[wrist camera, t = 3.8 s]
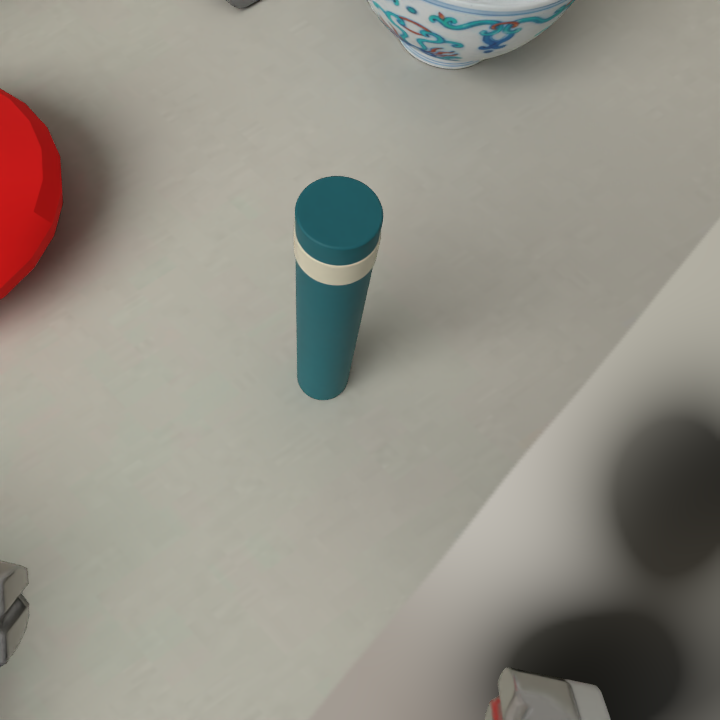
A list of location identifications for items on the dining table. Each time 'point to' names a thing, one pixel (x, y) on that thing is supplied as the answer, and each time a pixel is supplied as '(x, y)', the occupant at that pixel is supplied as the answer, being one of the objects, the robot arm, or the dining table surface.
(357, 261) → the teal banded tube
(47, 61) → the dining table surface
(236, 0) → the half round rod
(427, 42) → the chinaware
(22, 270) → the red disc with nozzle
